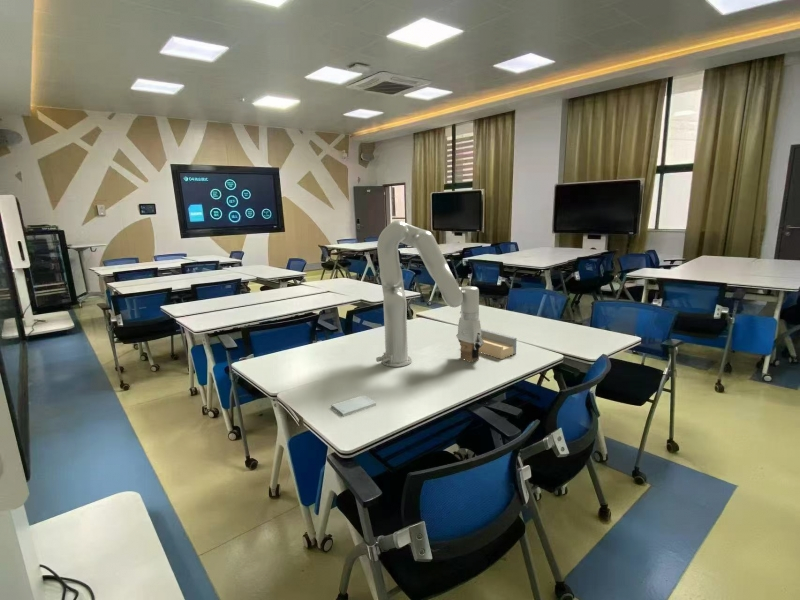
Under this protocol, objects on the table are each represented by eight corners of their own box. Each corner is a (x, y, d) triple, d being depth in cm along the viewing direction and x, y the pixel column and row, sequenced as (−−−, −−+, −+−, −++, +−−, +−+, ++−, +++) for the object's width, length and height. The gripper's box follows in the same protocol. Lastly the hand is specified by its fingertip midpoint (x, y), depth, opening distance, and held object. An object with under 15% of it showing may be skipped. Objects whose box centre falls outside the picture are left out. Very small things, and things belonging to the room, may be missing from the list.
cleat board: (500, 359, 175) (501, 342, 173) (464, 347, 192) (464, 332, 191) (516, 354, 181) (516, 337, 179) (479, 343, 198) (479, 328, 197)
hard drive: (342, 413, 128) (375, 402, 135) (330, 404, 134) (363, 394, 142) (343, 418, 128) (376, 406, 135) (331, 409, 135) (363, 398, 142)
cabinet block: (469, 362, 172) (469, 342, 170) (459, 359, 177) (458, 339, 175) (478, 359, 175) (479, 339, 174) (468, 356, 180) (468, 336, 178)
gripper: (449, 313, 177) (449, 353, 181) (478, 320, 164) (478, 363, 167) (461, 310, 182) (461, 349, 185) (491, 317, 168) (490, 359, 171)
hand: (469, 355), depth 176 cm, fingers closed on cabinet block, 6 cm apart
